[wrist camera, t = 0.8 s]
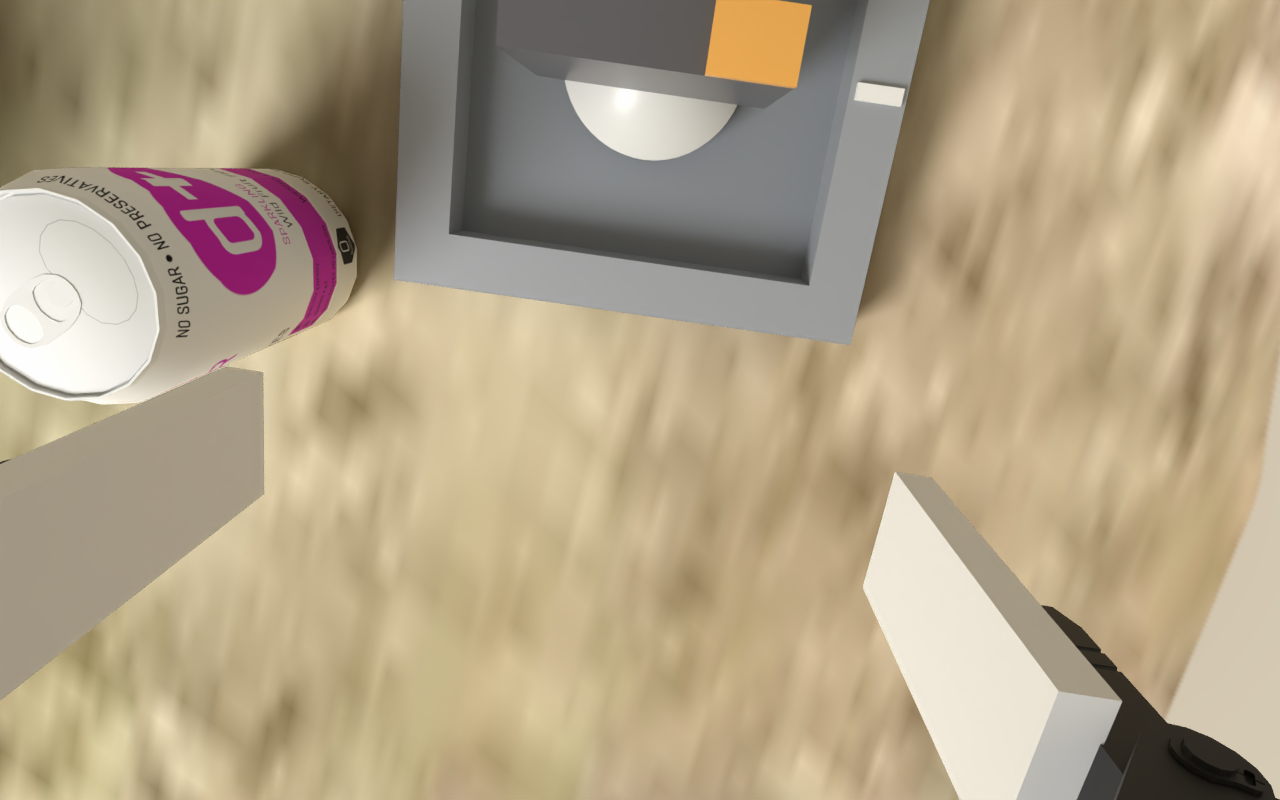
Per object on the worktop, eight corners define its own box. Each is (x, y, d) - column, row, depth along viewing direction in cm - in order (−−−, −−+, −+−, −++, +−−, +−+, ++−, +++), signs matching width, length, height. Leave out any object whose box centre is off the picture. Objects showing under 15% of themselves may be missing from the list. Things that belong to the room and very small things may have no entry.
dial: (539, 145, 34) (485, 133, 24) (556, -46, 32) (504, -145, 22) (748, 174, 34) (779, 176, 24) (780, -13, 32) (831, -97, 22)
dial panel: (418, 270, 38) (392, 280, 34) (440, -239, 31) (410, -292, 28) (834, 329, 38) (851, 346, 34) (944, -166, 31) (979, -209, 28)
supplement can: (291, 135, 36) (43, 111, 22) (394, 275, 38) (229, 336, 24) (175, 227, 38) (-126, 260, 24) (280, 356, 40) (61, 460, 25)
